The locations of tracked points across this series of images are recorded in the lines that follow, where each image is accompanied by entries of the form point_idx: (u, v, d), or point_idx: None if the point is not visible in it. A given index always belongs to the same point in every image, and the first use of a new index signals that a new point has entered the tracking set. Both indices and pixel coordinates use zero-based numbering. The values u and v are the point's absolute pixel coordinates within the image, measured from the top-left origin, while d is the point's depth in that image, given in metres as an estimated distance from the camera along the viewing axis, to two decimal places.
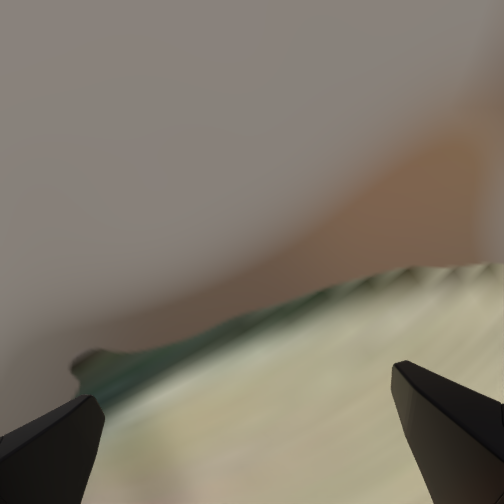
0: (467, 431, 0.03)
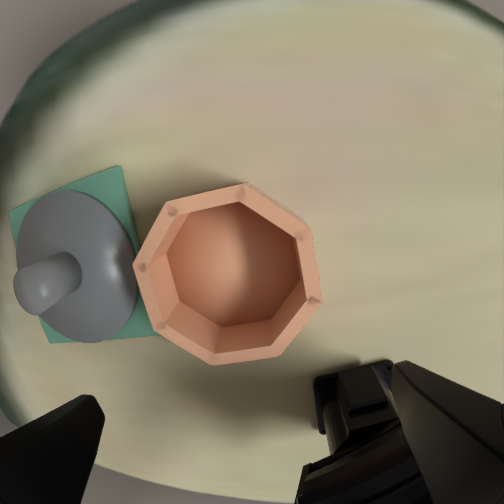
0: (467, 431, 0.03)
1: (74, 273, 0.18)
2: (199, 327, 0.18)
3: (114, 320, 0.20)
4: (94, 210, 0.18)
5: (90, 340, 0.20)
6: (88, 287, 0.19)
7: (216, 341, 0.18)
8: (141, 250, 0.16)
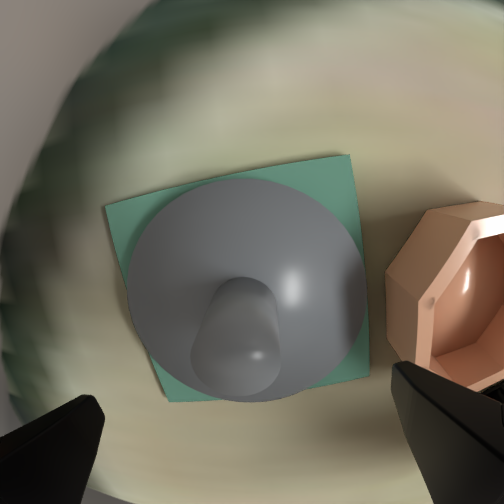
0: (467, 431, 0.03)
1: (277, 313, 0.13)
2: (434, 363, 0.13)
3: (316, 369, 0.15)
4: (318, 215, 0.13)
5: (263, 398, 0.15)
6: (283, 329, 0.14)
7: (448, 374, 0.13)
8: (435, 281, 0.10)
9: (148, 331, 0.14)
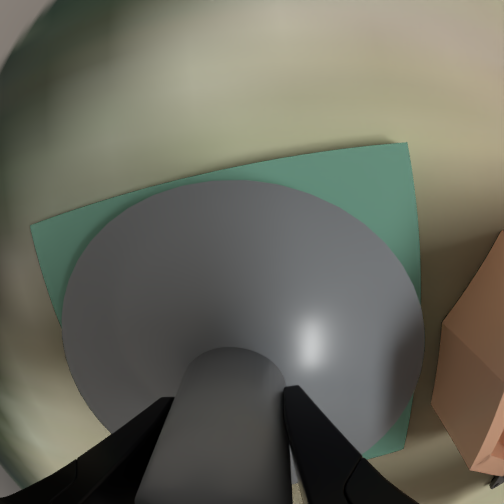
0: (301, 480, 0.04)
1: None
2: None
3: None
4: (361, 245, 0.07)
5: None
6: None
7: (500, 442, 0.07)
8: None
9: (100, 404, 0.09)
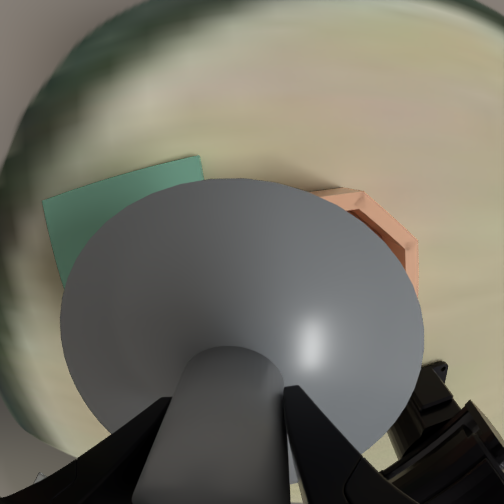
0: (301, 480, 0.04)
1: None
2: None
3: None
4: (360, 244, 0.07)
5: None
6: None
7: None
8: None
9: (99, 403, 0.09)
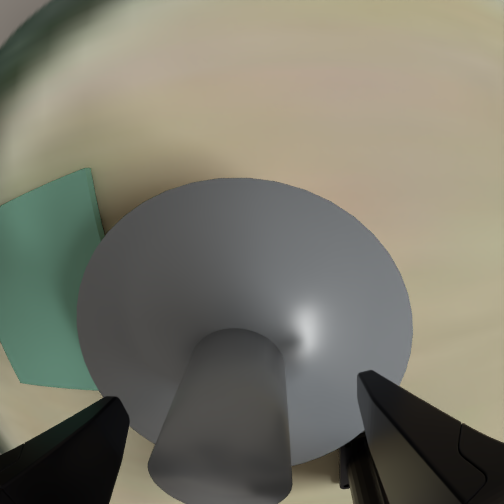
0: (417, 451, 0.04)
1: (286, 382, 0.08)
2: None
3: (334, 437, 0.10)
4: (351, 236, 0.08)
5: None
6: (293, 395, 0.09)
7: None
8: None
9: (111, 387, 0.10)
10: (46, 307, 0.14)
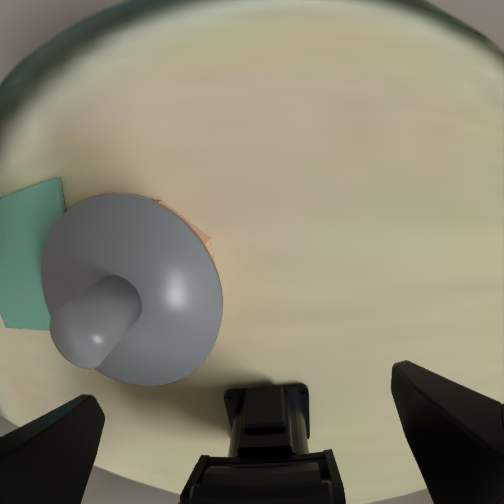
0: (467, 431, 0.03)
1: (135, 308, 0.14)
2: None
3: (181, 365, 0.16)
4: (170, 226, 0.14)
5: (142, 383, 0.17)
6: (149, 324, 0.16)
7: None
8: None
9: None
10: (28, 268, 0.20)
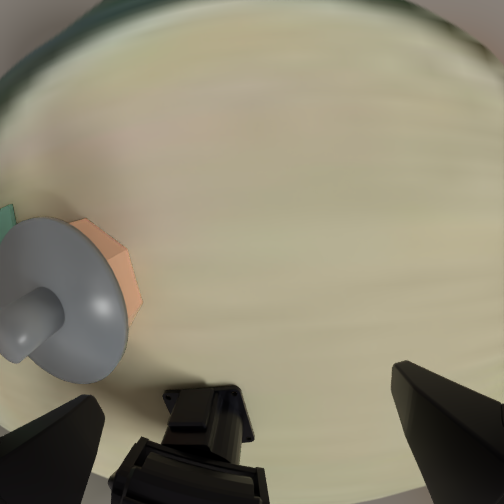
0: (467, 431, 0.03)
1: (55, 314, 0.15)
2: None
3: (102, 364, 0.17)
4: (73, 243, 0.15)
5: (78, 381, 0.17)
6: (72, 327, 0.16)
7: None
8: None
9: None
10: None
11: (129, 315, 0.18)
